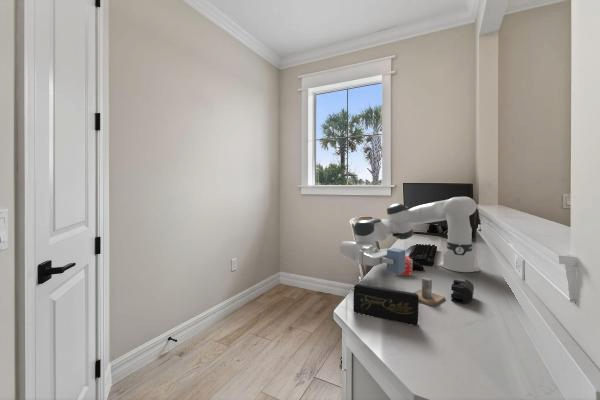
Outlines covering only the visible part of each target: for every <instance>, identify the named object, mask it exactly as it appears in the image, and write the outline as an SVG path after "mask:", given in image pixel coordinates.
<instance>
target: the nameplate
mask: <svg viewBox="0 0 600 400" xmlns="http://www.w3.org/2000/svg"><path fill="white" fill-rule="evenodd" d="M419 303H420V302H419V296H418V294H416V293H414V292H409V291H405V290H404V291H403V290H398V289H392V288H391V289H390V288H386V287H380V286H375V285H374V286H373V285H367V284H361V283H356V284H355V285H354V286H353V309H352V310H353V312H354V313H355V312H356V313H355V314H358V313H360V314H359V315H363V314H365V315H364V316H367V315H369V316H368V317H372V316H373V317H372V318H377V319H382V320H387V321H391V322H396V323H401V324H405V325H409V326H414V327H415V326H418V323H419Z"/></svg>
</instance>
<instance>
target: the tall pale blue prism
mask: <svg viewBox="0 0 600 400" xmlns="http://www.w3.org/2000/svg"><path fill="white" fill-rule="evenodd" d="M387 249H388V250H387V258H388V259H394V260H395V261H394V262H395V263H393V264H390V263H386V272H387V273H389V274H394V275H396V274H397V275H396V276H401V275H400V274H402V273H404V272H405V256H406V249H401V248H396V247H391V248H387Z"/></svg>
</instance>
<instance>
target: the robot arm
mask: <svg viewBox="0 0 600 400" xmlns="http://www.w3.org/2000/svg"><path fill="white" fill-rule="evenodd" d="M477 207H478V205H477V202H476V201H475V200H474V199H473V198H471V197H468V196H453V197H451V198H449V199H445V200H439V201H433V202H429V203H424V204H419V205H416V206H413V207H411V208H409V207H408V206H406V205H405V204H402V203H393V204H391V205H389V206H388V207H387V208H386V212H387V213H386V214H387V215H388V219H387V218H381V219H380V218H367V219H365V220H364V219H363V220H359V221H357V222H355V224H354V225H353V231H354V238H355V241H354V240H353V241H352V240H351V241H350V240H343V241H341V243H340V246H339V249H340V255H341V256H342V257H344V258H346V259H348V260H352V261H357V262H358V265H360V266H363V265H364V266H369V267H377V266H380V265H383V264H387V263H390V264H393V263H395V262H394V261H395V260H394V259H388V258H387V250H388V249H389V248H381V249H379V248H378V247H377V244H376V242H384V241H386V240H387V239H388V238H389V237H390V236H392V237H394V238H396V239H397V240H407V239H409V238H412V236H413V235H414V229H413V227H412V224H415V225H420V224H428V223H429V224H430V223H434V222H435V223H436V222H441V221H446V222H447V241H446V250H444V251H443V252H442V261H440V263H439V264H438V266H439V267H440V268H443V269H447V270H450V271H453V272H459V273H460V272H461V273H472V272H480V269H479V267H477V265H476V255H475V254H474V252H473V243H472V239H473V238H472V236H473V235H472V234H473V233H472V232H473V229H472V226H471V222H470V216H471V215H473V214H474V213H475V212H476V210H477ZM408 208H409V209H408Z"/></svg>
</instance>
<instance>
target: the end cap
mask: <svg viewBox="0 0 600 400" xmlns="http://www.w3.org/2000/svg"><path fill="white" fill-rule="evenodd" d="M452 282H453V283H451V288H450V289H451V290H450V291H452V293H451V294H450V301H451V302H453V303H458V304H463V305H464V304H467V303H470V302H471V301H472V300H473V297H474V289H475V287H474V284H473V283H472V282H471V281H470V280H468V279H464V281H463V280H458V279H453V281H452Z"/></svg>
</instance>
